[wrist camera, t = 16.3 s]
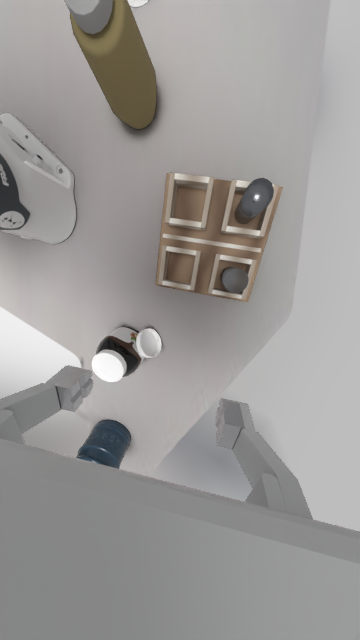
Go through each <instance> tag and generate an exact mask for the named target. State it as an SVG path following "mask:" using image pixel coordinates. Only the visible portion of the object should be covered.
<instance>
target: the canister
mask: <svg viewBox="0 0 360 640" xmlns="http://www.w3.org/2000/svg"><path fill="white" fill-rule="evenodd" d="M129 443H130V434H129V432H128V430H127V429H126V428H125V427H124V426H123V425H121V424H120V423H118V422H115V421H112V420H104V421H101V422H99V423H98V424H97V425H96V426H95V427H94V429H93V430H92V432H91V434H90V435H89V437H88V438H87V440H86V441H85V443H84V444H83V446H82V447H81V448H80V449H79V451H78V455H77V457H76V458H78V459H82V460H86V461H90V462H94V463H98V464H102V465H105V466H109V467H113V468H117V469H119V467H120V464H121V461H122V459H123V457H124V454H125V452H126V450H127V449H128V446H129Z"/></svg>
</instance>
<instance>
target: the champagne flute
mask: <svg viewBox="0 0 360 640" xmlns="http://www.w3.org/2000/svg"><path fill="white" fill-rule="evenodd" d="M127 1H128V3H129V5H130V6H132V7H140V6H142V5H144V4H145V3H147V2H148V0H127Z"/></svg>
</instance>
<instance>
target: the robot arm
mask: <svg viewBox="0 0 360 640" xmlns="http://www.w3.org/2000/svg"><path fill="white" fill-rule="evenodd" d="M62 170H63V173H62ZM73 189H74V175H73V173H72V172H71V171H70V170H69V169H68V168H67V167H66V166H65V165H64V164H63V163H62V162H61V161H60V160H59V159H58V158H57V157H56V156H55V155H54V154H53V153H52V152H51V151H50V150H49V149H48V148H47V147H46V146H45V145H44V144H43V143H42V142H41V141H39V140H38V139H37V138H36V137H35V136H34V135H33V134H32V133H31V132H30V131H29V130H28V129H27V128H26V127H25V126H24V125H23V124H22V123H21V122H20V121H19V120H18V119H17V118H16V117H14V116H13V115H11V114H10V113H4V114H1V115H0V231H3V232H7V233H11V234H15V235H19V236H20V237H21V238H24V239H29V240H31V239H37V240H40V241H42V242H45V243H50V244H56V243H60V242H62V241H64V240H65V239H67V238H68V237H69V235H70V234H71V233H72V231H73V228H74V226H75V221H76V206H75V201H74V195H73ZM91 376H92V371H90V370H86V369H82V368H78V367H73V366H69V365H68V366H65V367H64V368H63V369H61V370H60V371H59V372H58V373H57V374H56V375H54V376H53V377H52V378H51V379H50V380H48V381H47V382H46V383H45V384H44V383H41V384H39V385H36V386H34V387H31V388H28V389H26V390H23V391H20V392H18V393H15V394H13V395H10V396H8V397H5V398H2V399H0V640H360V532H359V531H355V530H351V529H347V528H343V527H340V526H336V525H332V524H328V523H324V522H320V521H317V520H313V518H312V515H311V513H310V510H309V508H308V505H307V502H306V500H305V497H304V495H303V492H302V489H301V487H300V485H299V482H298V480H297V478H296V477H295V476H294V475H293V474H292V472H291V471H290V470H289V469H288V468H287V466H286V465H285V464H284V463H283V462H282V460H281V459H280V458H279V457H278V455H277V454H276V453H275V452H274V451H273V449H272V448H271V447H270V446H269V445H268V443H267V442H266V441H265V440H264V438H263V437H262V436H261V435H260V434H259V432H256V431H255V428H254V424H253V421H252V417H251V413H250V409H249V406H248V404H246V403H241V402H237V401H232V400H226V399H222V398H221V400H220V402H219V405H220V407H219V408H218V409H217V413H216V426H217V428H218V429H217V432H216V437H217V446H221V447H224V448H228V449H232V451H233V453H234V455H235V456H236V458H237V460H238V462H239V464H240V466H241V468H242V469H243V471H244V473H245V475H246V477H247V479H248V481H249V482H250V484H251V486H252V488H253V490H252V492H251V493H250V494H249V496H248V498H247V499H246V502H243V501H239V500H236V499H232V498H228V497H224V496H220V495H216V494H213V493H209V492H205V491H201V490H197V489H193V488H189V487H186V486H182V485H178V484H174V483H170V482H167V481H163V480H159V479H155V478H151V477H148V476H144V475H140V474H136V473H132V472H128V471H125V470H121V469H117V468H113V467H109V466H105V465H102V464H98V463H94V462H90V461H86V460H82V459H78V458H75V457H71V456H67V455H63V454H59V453H55V452H52V451H47V450H43V449H40V448H36V447H32V446H28V445H25V440H24V437H23V435H22V434H23V433H24V432H26V431H27V430H29V429H31V428H32V427H34V426H36V425H37V424H39V423H40V422H42V421H44V420H45V419H47V418H49V417H50V416H52V415H53V414H55V413H57V412H58V411H60V410H61V409H63V410H68V411H73V412H75V411H76V410H77V408H78V407H79V406H80V405H81V403H82V401H83V398H85V397H87V396H88V395H89V393H90V392H91V390H92V388H93V380H92V379H91V378H90V377H91Z"/></svg>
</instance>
